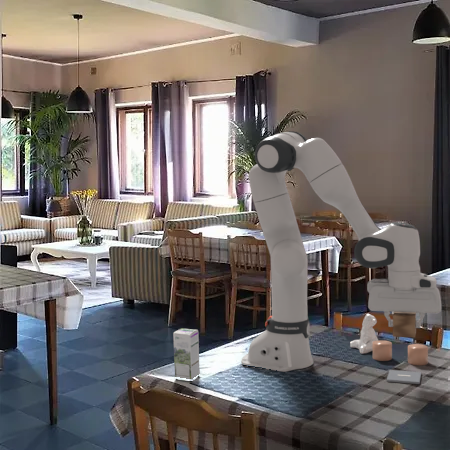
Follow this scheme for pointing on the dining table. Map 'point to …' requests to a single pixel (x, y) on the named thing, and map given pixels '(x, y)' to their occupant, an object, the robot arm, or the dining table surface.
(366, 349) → the seated beast figurine
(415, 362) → the peach rounded cylinder
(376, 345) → the rounded tan cylinder
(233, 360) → the dining table surface
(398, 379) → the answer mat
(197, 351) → the syrup box
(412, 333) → the walnut cube
